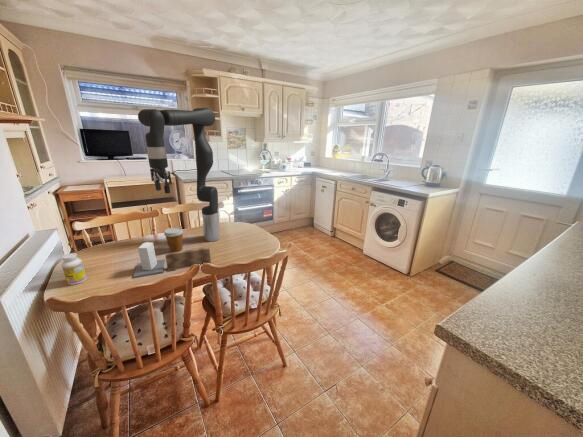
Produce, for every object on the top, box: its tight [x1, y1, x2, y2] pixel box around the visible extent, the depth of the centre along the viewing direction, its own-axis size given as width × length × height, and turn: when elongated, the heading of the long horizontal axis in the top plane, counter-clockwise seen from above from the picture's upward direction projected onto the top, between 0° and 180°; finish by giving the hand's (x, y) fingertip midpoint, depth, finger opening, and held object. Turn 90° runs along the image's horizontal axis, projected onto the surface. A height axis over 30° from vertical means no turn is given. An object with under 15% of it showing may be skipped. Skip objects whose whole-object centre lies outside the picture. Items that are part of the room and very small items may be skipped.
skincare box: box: [137, 241, 158, 270], centre depth 116 cm, size 6×4×12 cm
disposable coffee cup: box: [163, 226, 184, 253], centre depth 136 cm, size 10×10×12 cm
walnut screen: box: [165, 246, 212, 272], centre depth 121 cm, size 20×5×8 cm, turn 113°
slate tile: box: [132, 258, 166, 279], centre depth 118 cm, size 12×12×1 cm
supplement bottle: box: [61, 252, 88, 286], centre depth 106 cm, size 7×7×13 cm
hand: (163, 191), depth 116 cm, fingers open, 8 cm apart
